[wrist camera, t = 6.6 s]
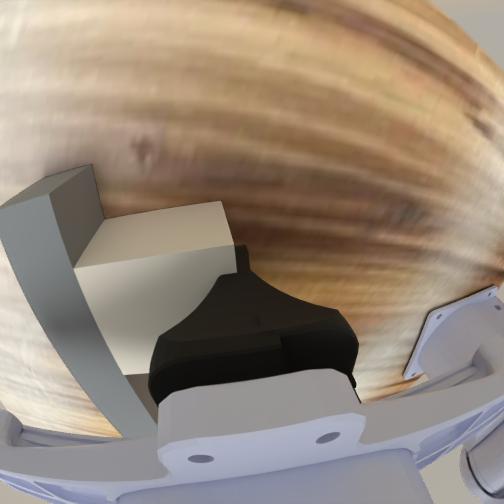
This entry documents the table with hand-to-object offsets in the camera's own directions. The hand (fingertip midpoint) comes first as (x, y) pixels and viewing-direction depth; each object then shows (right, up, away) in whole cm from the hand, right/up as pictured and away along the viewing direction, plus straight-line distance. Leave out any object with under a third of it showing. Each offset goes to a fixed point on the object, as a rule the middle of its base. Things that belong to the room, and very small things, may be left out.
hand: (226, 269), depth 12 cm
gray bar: (-6, -3, +2) cm, 7 cm away
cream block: (-3, 0, +1) cm, 3 cm away
